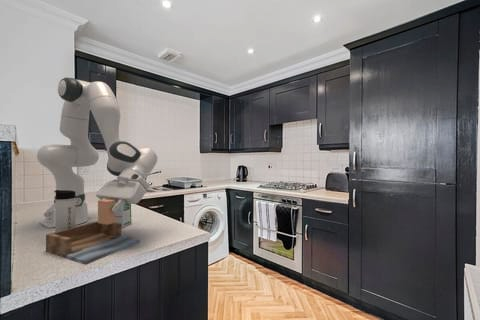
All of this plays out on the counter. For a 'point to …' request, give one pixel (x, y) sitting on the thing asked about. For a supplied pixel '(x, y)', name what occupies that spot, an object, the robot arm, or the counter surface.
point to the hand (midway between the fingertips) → (106, 210)
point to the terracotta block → (106, 211)
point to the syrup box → (123, 214)
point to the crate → (88, 241)
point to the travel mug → (64, 209)
